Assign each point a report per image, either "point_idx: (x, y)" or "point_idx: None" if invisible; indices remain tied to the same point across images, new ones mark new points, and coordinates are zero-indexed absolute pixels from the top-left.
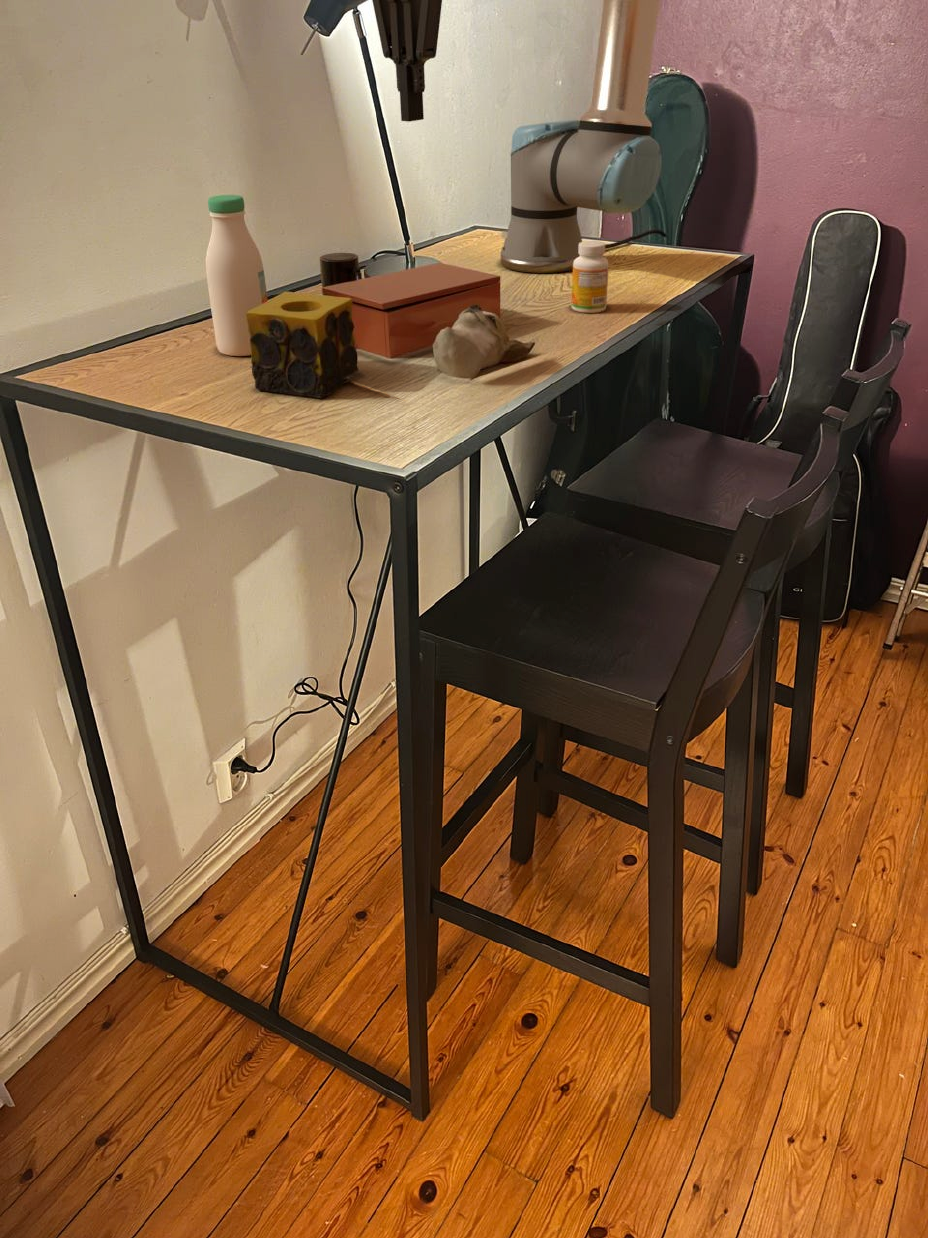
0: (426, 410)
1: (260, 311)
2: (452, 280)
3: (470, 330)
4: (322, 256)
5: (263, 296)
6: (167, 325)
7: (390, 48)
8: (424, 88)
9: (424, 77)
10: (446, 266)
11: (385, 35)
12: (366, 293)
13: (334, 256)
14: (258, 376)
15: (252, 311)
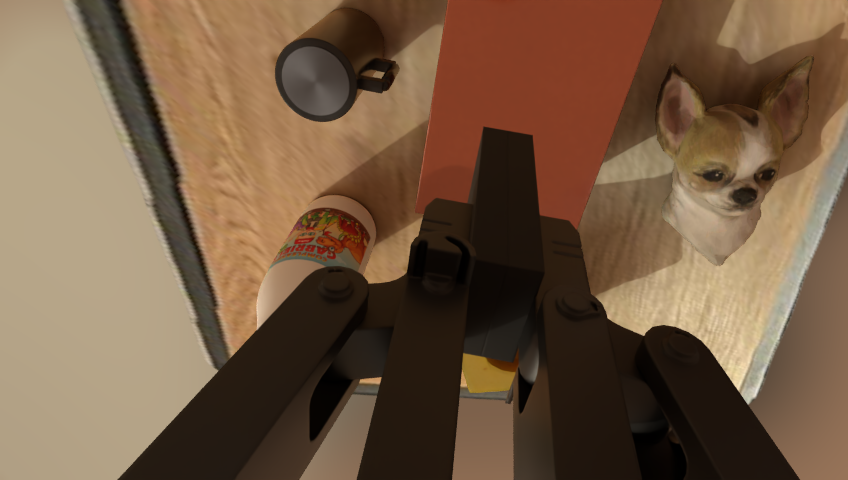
0: (699, 290)
1: (484, 386)
2: (603, 29)
3: (740, 218)
4: (286, 96)
5: (357, 263)
6: (162, 198)
7: (351, 384)
8: (576, 231)
9: (584, 263)
10: None
11: (308, 460)
12: None
13: (309, 87)
14: None
15: (475, 390)
